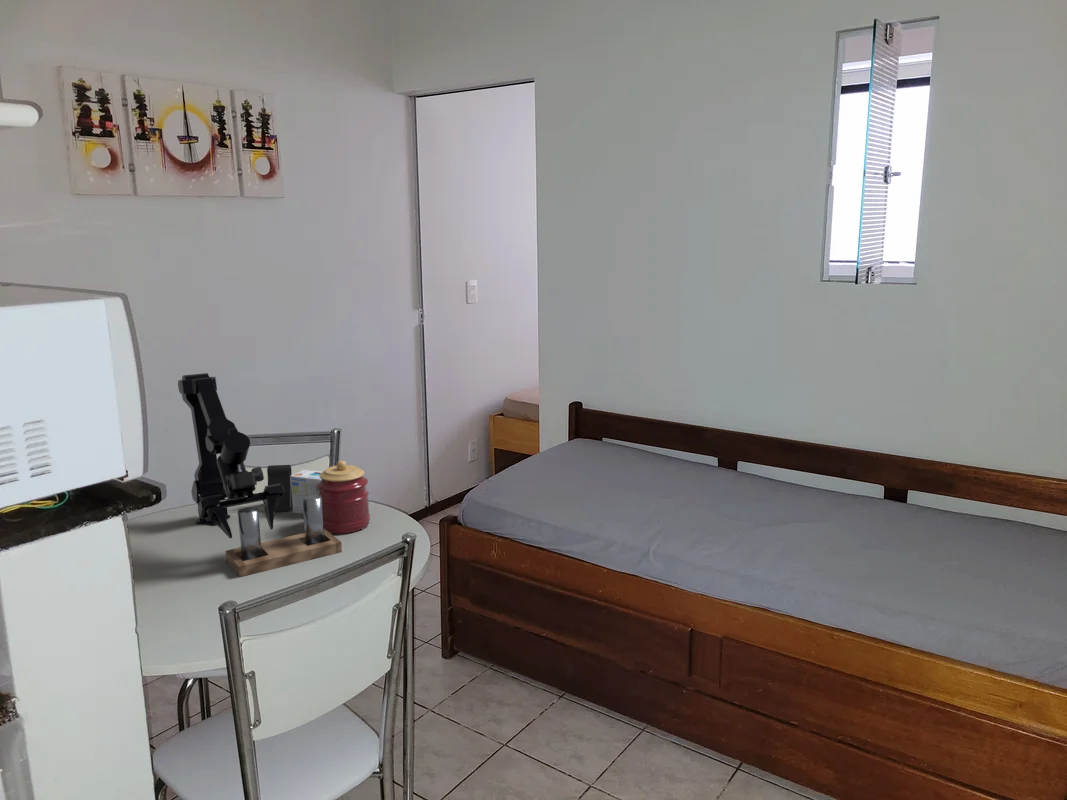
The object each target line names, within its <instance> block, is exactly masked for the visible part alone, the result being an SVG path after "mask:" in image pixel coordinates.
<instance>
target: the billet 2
mask: <svg viewBox="0 0 1067 800" xmlns="http://www.w3.org/2000/svg"><path fill="white" fill-rule="evenodd" d="M303 512H304V514H303V525H304V533H305V542H306V545H307V546H309V545H314V544H318V543H322V542H324V527H323V511H322V497H321V496H319V495H309V496H306V497H304V498H303Z"/></svg>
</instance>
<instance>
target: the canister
mask: <svg viewBox="0 0 1067 800" xmlns="http://www.w3.org/2000/svg"><path fill="white" fill-rule="evenodd" d="M321 472H322V473H321V474H320V478H321V480H320V481H319V482H318V483H317V487H318V488H319V496H321V497H322V511H323V527H324V529H326V530H327V531H328V532H329V533H331V534H341V535H342V534H344V535H345V534H350V533H351V532H352V533H356V532H358V531H357V530H359V531H361V530H360V529H362V528H364V527H366V526H367V525H368V524H369V525H370V520H371V517H370V516H371V515H370V514H371V513H370V508H369V494H370V493H369V491H368V489H367V485H368V483H369V480H368V478H367V477H365V476H364V475H365V471H364V469H361V468H359V467H358V466H357V465H351V464H347V462H346V461H345V460H338V461H337V463H336V465H332V466H330V467H328V468H326V469H324V470H323V471H321ZM369 525H368V526H369ZM368 526H367V527H368ZM367 527H366V528H367ZM364 529H365V528H364ZM362 530H363V529H362ZM355 531H356V532H355Z"/></svg>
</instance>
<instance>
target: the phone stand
mask: <svg viewBox="0 0 1067 800" xmlns="http://www.w3.org/2000/svg"><path fill="white" fill-rule="evenodd" d="M266 473H267V486H269V485H274V484H281V485H282V486H283V487H284V490H285V494H284V497H283V499H282V502H281V503H279V504H278V505H277V507H275V508H274V513H284V512H285V513H286V512H291V511H292V510H293V505H292V492H291V479H290V476H291V475H293V474H292V473H293V472H292V465H291V464H281V465H279V464H278V465H277V464H276V465H274V464H273V465H268V466H267V469H266Z"/></svg>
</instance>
